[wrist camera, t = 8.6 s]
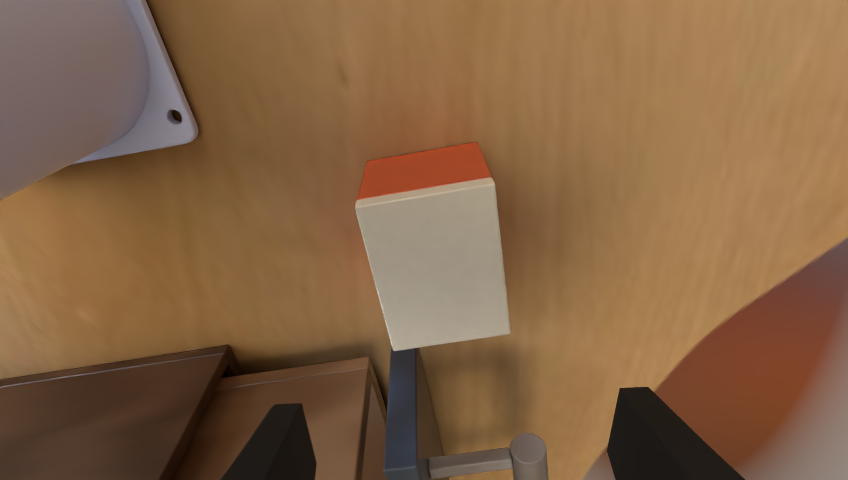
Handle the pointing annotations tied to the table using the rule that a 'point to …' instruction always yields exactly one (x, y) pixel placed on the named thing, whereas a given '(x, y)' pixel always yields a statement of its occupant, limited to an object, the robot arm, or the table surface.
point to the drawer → (349, 425)
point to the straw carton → (434, 246)
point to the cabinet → (108, 417)
